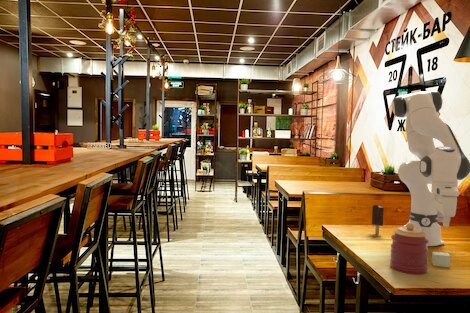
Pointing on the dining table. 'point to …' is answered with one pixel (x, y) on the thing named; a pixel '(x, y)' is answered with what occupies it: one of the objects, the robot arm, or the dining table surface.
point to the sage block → (441, 259)
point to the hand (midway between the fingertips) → (443, 224)
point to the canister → (409, 250)
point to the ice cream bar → (377, 217)
